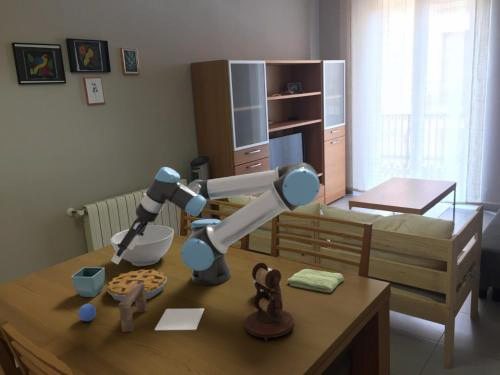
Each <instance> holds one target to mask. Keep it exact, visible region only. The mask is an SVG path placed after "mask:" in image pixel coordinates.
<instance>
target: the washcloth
mask: <svg viewBox="0 0 500 375" xmlns="http://www.w3.org/2000/svg"><path fill="white" fill-rule="evenodd" d="M344 280H345V278H344V276H343V274H341V273H339V272H329V271H323V270H316V269H310V268H304V269H301V270H300V271H298V272H296V273H294V274H293V275H292V276H291V277H289V278H288V279H287V283H288V284H289V285H290V286H291V287H295V288H301V289H306V290H312V291H316V292H323V293H332V292H333V291H334V290H335V289H336V288H337V287H338V285H340V284H341V283H342V282H343V281H344Z"/></svg>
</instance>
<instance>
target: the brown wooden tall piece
mask: <svg viewBox="0 0 500 375" xmlns="http://www.w3.org/2000/svg"><path fill="white" fill-rule="evenodd" d="M268 268H269V267H268V265H267V264H266V263H265V262H258V263H256V264H255V265H254V266H253V268H252V271H251V276H252V278H253V279H254V280H256V282H255V286H254V288H255V290H256V289H257V290H256V295H255V296H254V298H253V306H254V307H255V308H256V309H257V310H256V311H253V312H252V313H250V314H249V315H248V316H247V317H246V318H245V320H244V328H245V330H246V331H247V333H249V334H250V335H252V336H255V337H258V338H263V340H264V342H267V341H268V339H271V338H279V337H281V336H284V335H287V334H288V333H290V332H291V331H293V330H294V326H295V318H294V317H293V315H292V314H291V313H290V312H287V311H286V310H283V307H284V306H283V305H284V304H283V296H282V289H281V285H280V284H279V283H280V281H282V280H281V279H282V274H281V271H280V270H278V269H276V268H273V269H272V270H270V271H268ZM253 279H252V280H253ZM260 289H261V290H263V291H260ZM269 294H270V295H269Z"/></svg>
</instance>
